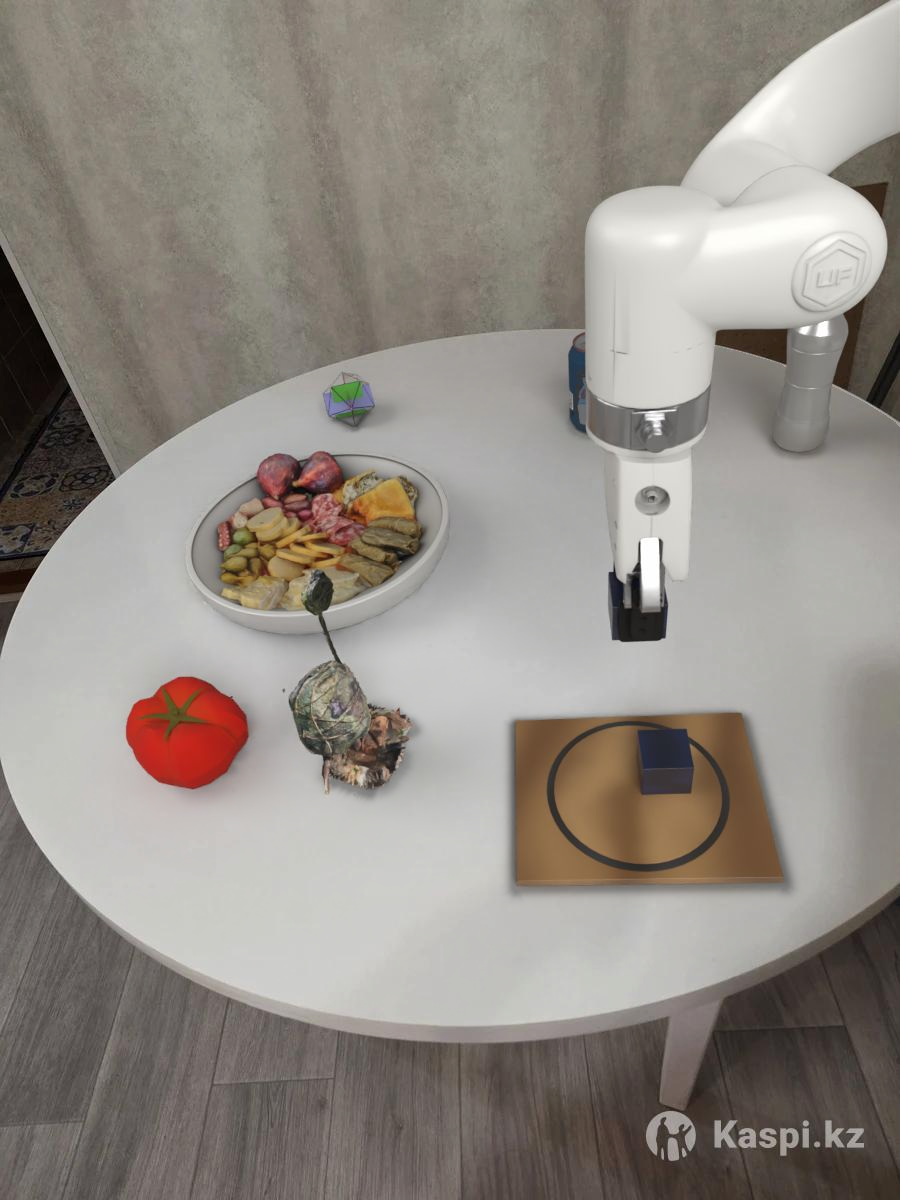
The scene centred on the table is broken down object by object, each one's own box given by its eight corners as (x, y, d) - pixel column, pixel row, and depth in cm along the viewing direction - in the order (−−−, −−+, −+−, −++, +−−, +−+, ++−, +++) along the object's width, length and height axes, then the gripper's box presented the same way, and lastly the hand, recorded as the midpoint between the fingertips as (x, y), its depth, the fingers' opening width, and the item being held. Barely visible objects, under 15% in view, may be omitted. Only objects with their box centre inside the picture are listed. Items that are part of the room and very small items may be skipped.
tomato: (202, 696, 87) (181, 650, 82) (273, 745, 81) (255, 699, 77) (121, 761, 82) (94, 716, 77) (191, 819, 76) (166, 774, 71)
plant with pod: (287, 779, 78) (222, 620, 64) (371, 698, 84) (328, 537, 70) (352, 823, 74) (297, 662, 60) (435, 735, 80) (402, 571, 66)
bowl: (503, 571, 95) (498, 514, 90) (252, 693, 86) (229, 638, 81) (381, 456, 116) (370, 404, 110) (167, 545, 106) (144, 493, 101)
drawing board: (740, 718, 77) (741, 710, 76) (782, 882, 65) (784, 875, 65) (516, 725, 79) (515, 718, 79) (517, 886, 68) (516, 879, 67)
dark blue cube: (683, 754, 74) (686, 728, 71) (691, 793, 71) (694, 767, 68) (636, 755, 74) (637, 729, 72) (641, 795, 71) (642, 769, 69)
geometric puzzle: (379, 419, 119) (366, 361, 118) (331, 429, 118) (317, 371, 117) (378, 426, 126) (365, 371, 125) (332, 436, 125) (318, 381, 125)
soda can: (614, 407, 118) (615, 323, 110) (628, 432, 113) (631, 347, 105) (564, 415, 118) (562, 332, 110) (576, 442, 113) (575, 357, 105)
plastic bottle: (758, 447, 107) (781, 290, 94) (788, 423, 110) (814, 268, 97) (806, 464, 103) (837, 304, 90) (836, 440, 106) (870, 281, 93)
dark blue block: (659, 602, 68) (661, 568, 66) (665, 638, 65) (668, 604, 63) (607, 604, 68) (608, 571, 66) (611, 640, 65) (612, 607, 63)
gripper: (732, 478, 47) (704, 698, 60) (688, 339, 60) (672, 545, 72) (594, 486, 48) (594, 701, 61) (578, 348, 61) (581, 550, 73)
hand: (636, 614), depth 66 cm, fingers closed on dark blue block, 4 cm apart
